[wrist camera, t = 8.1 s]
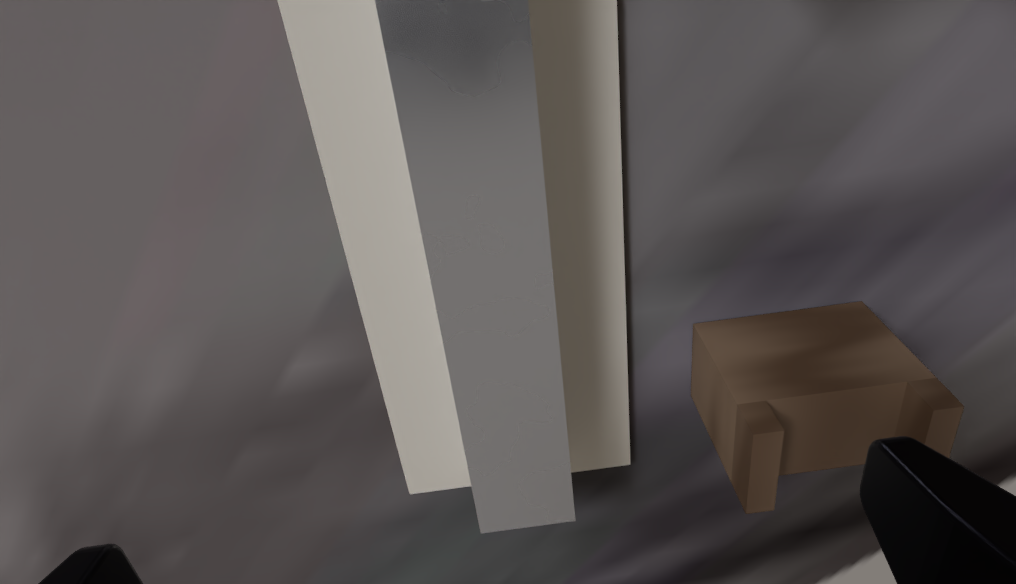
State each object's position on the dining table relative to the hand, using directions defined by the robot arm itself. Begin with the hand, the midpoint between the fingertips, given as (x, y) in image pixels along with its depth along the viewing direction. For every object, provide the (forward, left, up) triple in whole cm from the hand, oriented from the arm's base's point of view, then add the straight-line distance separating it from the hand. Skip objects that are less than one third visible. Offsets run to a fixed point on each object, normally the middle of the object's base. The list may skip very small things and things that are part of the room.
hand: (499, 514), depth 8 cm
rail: (0, 0, -12) cm, 12 cm away
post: (-9, +8, -12) cm, 17 cm away
